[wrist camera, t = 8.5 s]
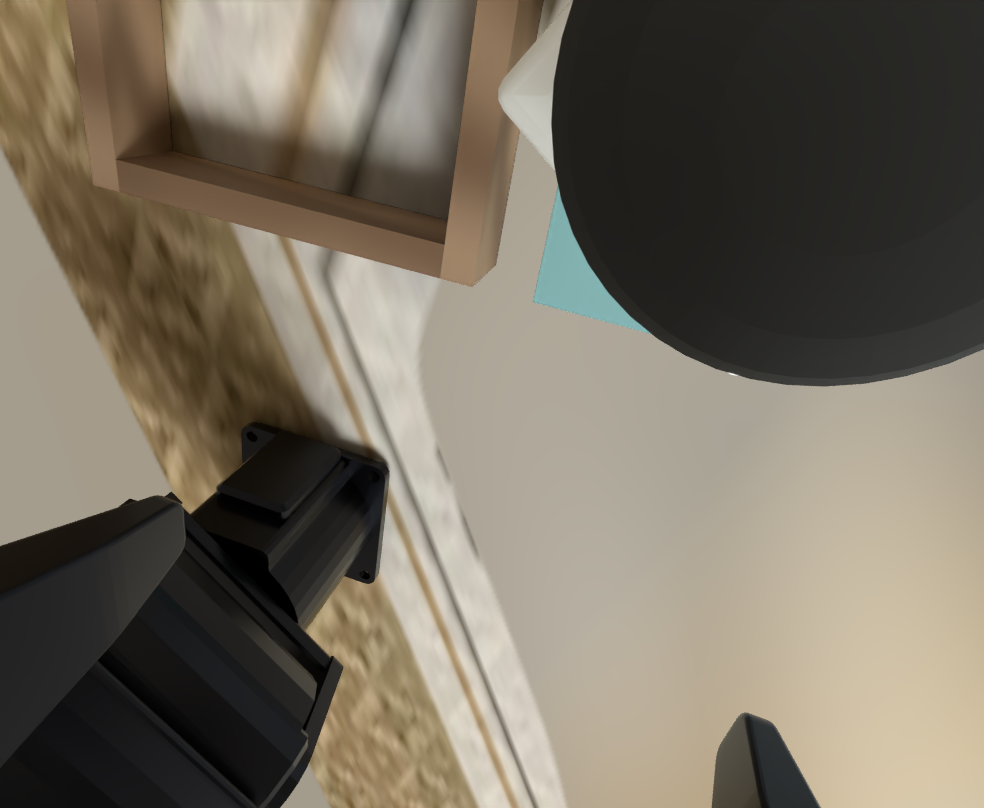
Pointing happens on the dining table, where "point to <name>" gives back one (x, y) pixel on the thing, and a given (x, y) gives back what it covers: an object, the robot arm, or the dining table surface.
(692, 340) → the medicine bottle
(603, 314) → the teal mat
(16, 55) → the dining table surface
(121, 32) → the offcut rack
